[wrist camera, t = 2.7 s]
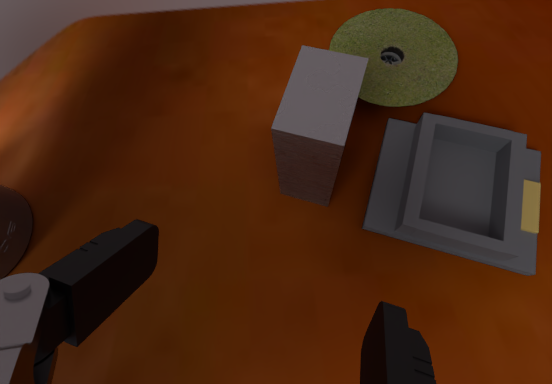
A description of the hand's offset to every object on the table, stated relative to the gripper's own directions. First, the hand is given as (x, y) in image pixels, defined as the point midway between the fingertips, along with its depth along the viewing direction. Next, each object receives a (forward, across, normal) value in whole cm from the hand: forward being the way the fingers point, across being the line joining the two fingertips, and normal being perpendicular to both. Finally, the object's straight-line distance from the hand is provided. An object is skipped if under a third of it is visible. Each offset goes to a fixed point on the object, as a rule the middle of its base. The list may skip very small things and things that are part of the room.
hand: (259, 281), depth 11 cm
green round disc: (+26, +3, +7) cm, 27 cm away
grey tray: (+18, +10, 0) cm, 21 cm away
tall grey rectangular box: (+17, 0, -1) cm, 17 cm away
